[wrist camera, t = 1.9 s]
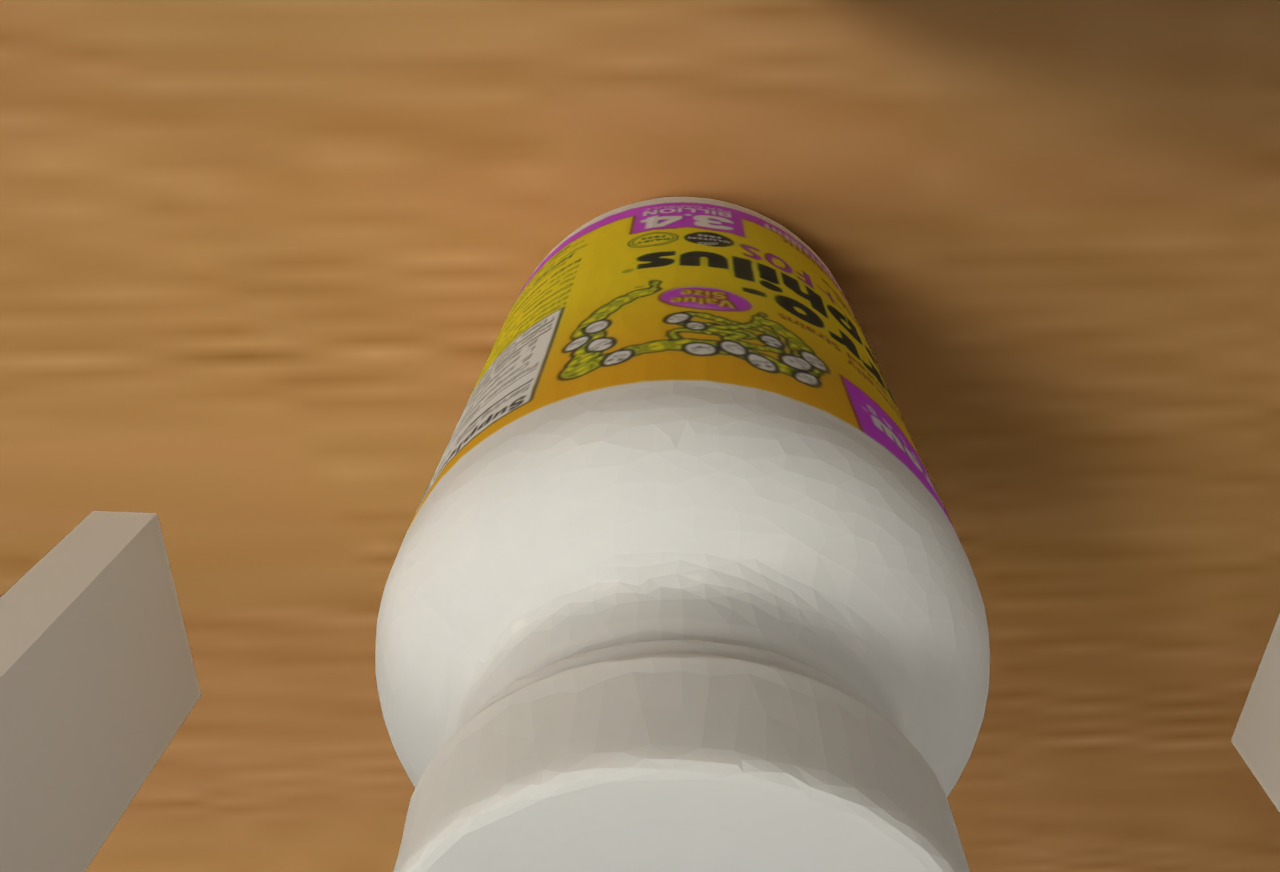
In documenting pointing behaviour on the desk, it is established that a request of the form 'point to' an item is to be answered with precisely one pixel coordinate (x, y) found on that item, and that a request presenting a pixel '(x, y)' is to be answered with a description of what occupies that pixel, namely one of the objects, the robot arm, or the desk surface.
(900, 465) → the supplement bottle
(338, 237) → the desk surface
